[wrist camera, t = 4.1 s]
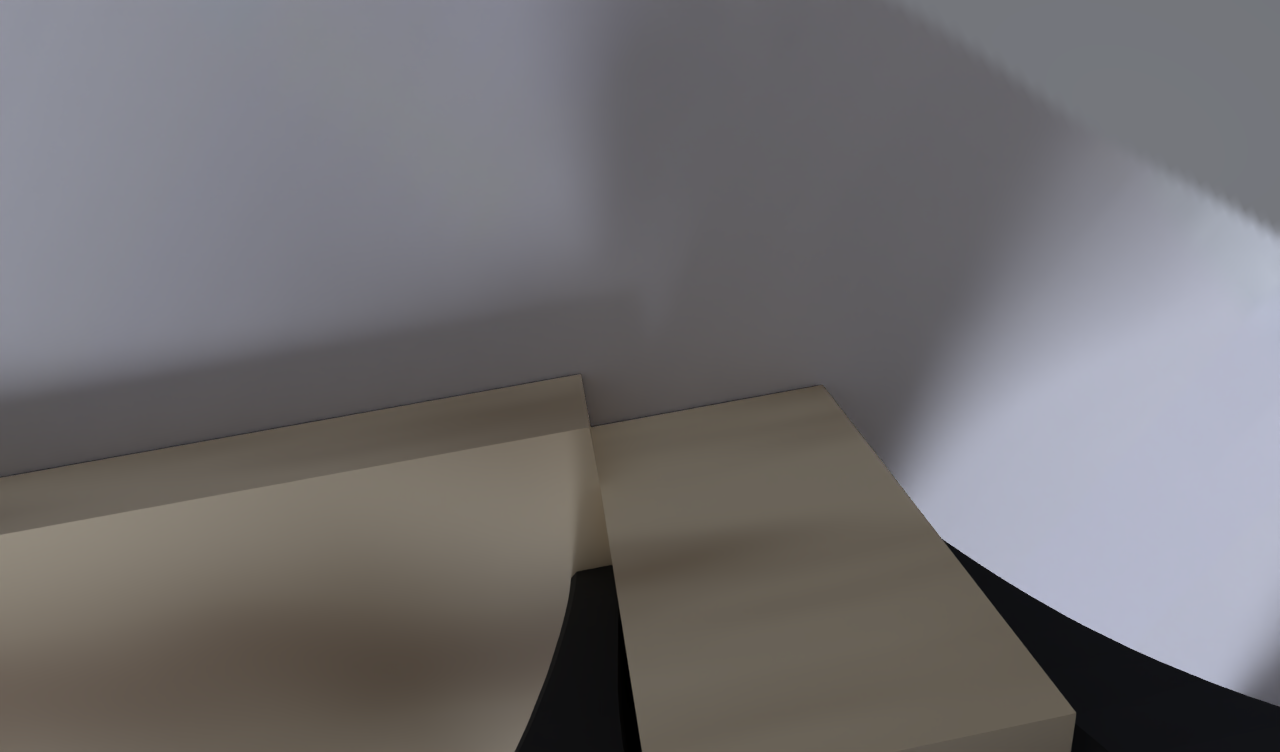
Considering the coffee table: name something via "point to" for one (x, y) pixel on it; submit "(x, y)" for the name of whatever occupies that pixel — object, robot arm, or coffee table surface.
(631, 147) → the coffee table surface
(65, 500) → the oak l-shaped block
